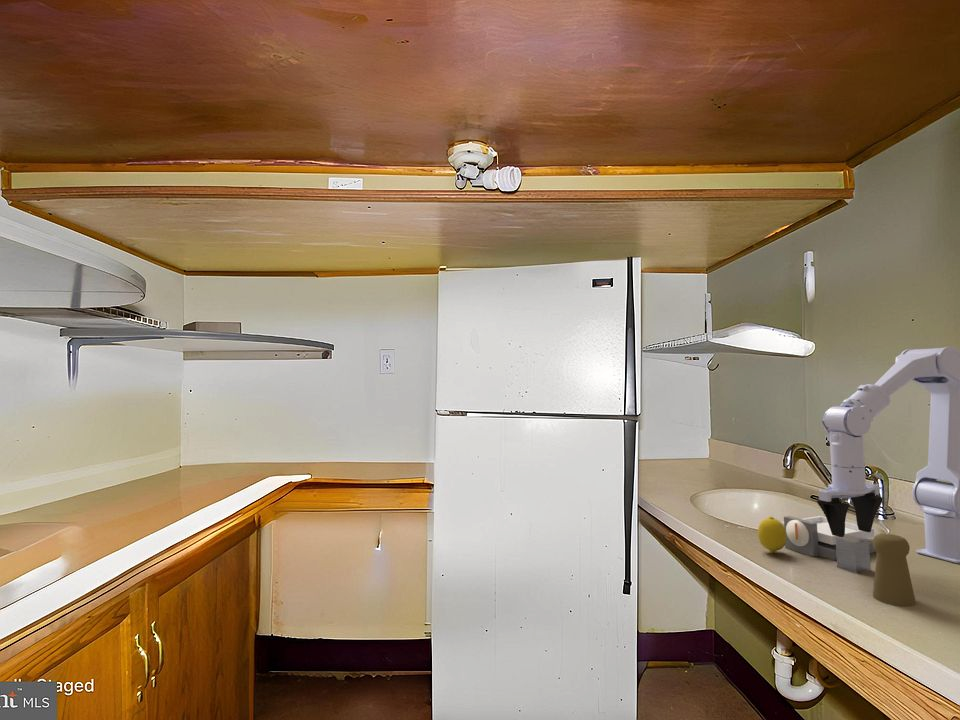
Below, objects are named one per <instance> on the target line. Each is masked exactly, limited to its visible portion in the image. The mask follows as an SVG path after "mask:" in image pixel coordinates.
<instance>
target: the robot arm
mask: <svg viewBox="0 0 960 720" xmlns="http://www.w3.org/2000/svg"><path fill="white" fill-rule="evenodd" d="M911 381H912V382H914V383H916V384H918V385H919V386H921V387H923V388H925V389H926V390H927V391H928V392H929V393H930V404H929V405H930V408H929V409H930V410H929V411H930V412H929V430H928V431H929V432H928V433H929V434H928V452H927V453H928V454H927V455H928V456H927V465H926V466H925V467H923V468H921V469H920V470H918V471H917V472H916V477H915V481H914V483H913V486H912V490H911V495H912V498H913V502H915V504H916V505H918V506H919V511H922V512H923V520H924V521H923V523H924V540H925V548H919V549H916V550H915V553H918V554H921V555H924V556H928V557H932V558H935V559H940V560H943V561H948V562H951V563H956V564H960V350H959V349H958V348H956V347H954V346H945V347H934V348H920V349H919V348H917V349H916V348H915V349H914V348H908V349H905V350H903V351H902V352H901V353H900V354H898V355H897V356H895V363H894V364H893V365H892V366H891V367H890V368H889V369H888V370H887V371H886V372H885V373H884V374H883V375H882V376H881V377H880V378H879V379H878V380H877V381H876V382H875V383H874V384H873V383H867V384H861V385H859V386H858V387H856V388H857V390H856V391H855V392H854V393H853V394H852V395H851V396H849V397H848V398H845V399H843V400H842V403H841V404H840V405H839V406H831V407H829V409H826V411H825V413H824V414H823V417H822V419H821V420H820V423H821V426H822V428H823V430H824V431H825V433H826V439H827V440H828V442H829V447H830V448H829V451H830V452H829V453H830V466H831V468H830V469H831V483H830V484H827V487H826V488H824V489H819V490H818V498H816V503H817V505H818V506H819V508H820V509H821V511H822V512H823V514H824V517H826V518H827V521H828V524H829V527H830V530H831V533H832V535H835V536H838V537H844V534H845V522H846V518H847V517H846V516H847V513H848V511H849V508H850V504H849V503H844V502H842V500H841V499H849V498H850V500H851V503H852V505H853V509H854V512H855V517H856V518H855V519H856V524H857V526H858V529H859V530H861V531H865V532H871V529H872V528H873V525H874V521H875V517H876V515H877V511H878V510H879V508H880V506H881V505H882V503H883V502H884V501H883V497H882V496H878V495H880V489H879V487H880V485H879V484H876V483H875V484H873V483H867V482H866V464H865V447H864V445H865V444H864V435H865V434H868V433H869V431H870V429H871V426H872V425H871V424H872V422H874V418H875V417H876V416H878V415H879V414H880V413H881V412H882V411H883V410H885V409H886V408H887V407H888V406H890V403H891V398H890V396H891V395H893V394H894V393H897V391H898V390H900V389H902V388H903V387H904V386H906V385H907V384H908V383H911ZM940 480H942V481H940Z"/></svg>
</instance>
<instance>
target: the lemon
mask: <svg viewBox="0 0 960 720" xmlns="http://www.w3.org/2000/svg"><path fill="white" fill-rule="evenodd" d="M757 531H758V532H757V536H758V540H759V542H760V544H761V545H762V546H763V547H764V548H765V549H766V550H768V551H770V553H772V554H775V553H776V552H777V551H780V550H782V549H783V548H785V543H786V531H785V528H784V526H783V525H782V523H781V521H780V520H778V519H776V518H775V517H773V516H769V517H767V518H764V519H763V520H762V521H761V522H759V525H758V530H757Z"/></svg>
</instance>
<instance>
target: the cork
mask: <svg viewBox="0 0 960 720" xmlns="http://www.w3.org/2000/svg"><path fill="white" fill-rule="evenodd" d="M872 540H873V547H874V550H875V551H876V552H875V553H876V557H875V558H876V560H875V569H874V571H875V572H874V579H873V590H872V598H874V599H875V600H876V601H879V602H881V603H885V604H886V605H892V606H898V607H911V606H915V605H916V604H917V601H916V597H915V592H914V587H913V583H912V578H911V573H910V569H909V564H908V561H907V556H908V555H909V553H910V544H909V542H908V541H907V539H906V538H905V537H903V536H900V535H896V534H891V533H878V534H876V535H874V537H872Z"/></svg>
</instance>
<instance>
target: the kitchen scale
mask: <svg viewBox="0 0 960 720" xmlns="http://www.w3.org/2000/svg"><path fill="white" fill-rule="evenodd" d="M780 522H781V521H780ZM781 523H782V525H783V526H784V528H785V531H786V543H785V545H784V548H786V549H789V550H791V551H795V552H798V553H801V554H804V555H806V556H810V557H818V556H819V557H822V558H825V559H828V560H832V561H837V555H836V537H838V536H835V535H832V533H831V530H830V527H829V524H828V521H827V518H826V516H825V515H824V516H823V515H818V516H817V515H816V516H811V517H804V518H799V517H794V516H790V515H786V516H783V521H782V522H781ZM847 535H851V536H855V537H859V538H862V539H866V540H869V551H870V554H873V553H877V552H876V551H875V550H874V547H873V538H874V537H875V528H873V527H872V529H871V532H865V531H861V530H859V529H858V526H857V523H852V522H847V521H845V534H844V536H847ZM870 538H872V539H870Z"/></svg>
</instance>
